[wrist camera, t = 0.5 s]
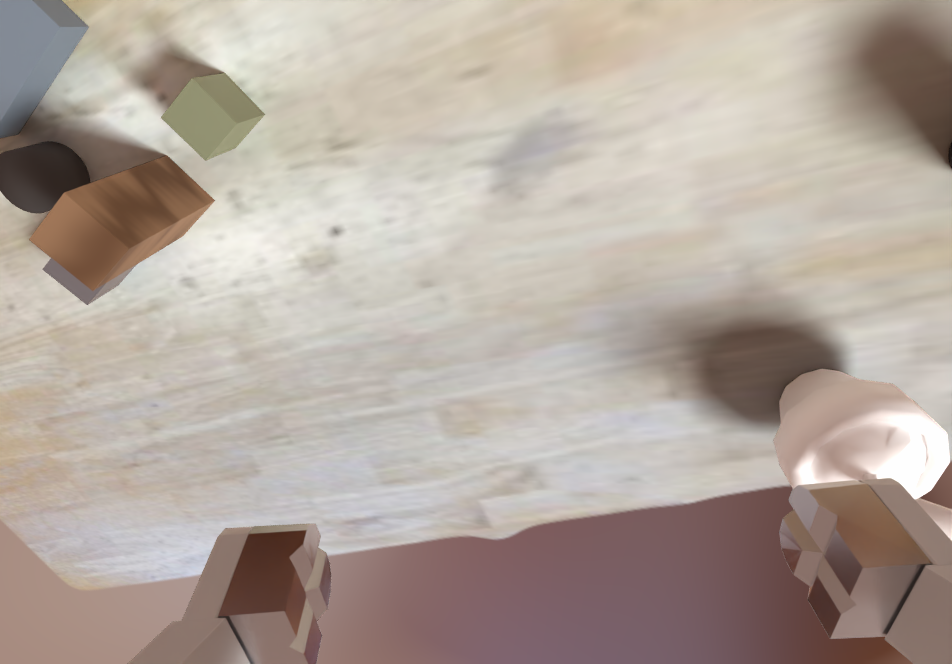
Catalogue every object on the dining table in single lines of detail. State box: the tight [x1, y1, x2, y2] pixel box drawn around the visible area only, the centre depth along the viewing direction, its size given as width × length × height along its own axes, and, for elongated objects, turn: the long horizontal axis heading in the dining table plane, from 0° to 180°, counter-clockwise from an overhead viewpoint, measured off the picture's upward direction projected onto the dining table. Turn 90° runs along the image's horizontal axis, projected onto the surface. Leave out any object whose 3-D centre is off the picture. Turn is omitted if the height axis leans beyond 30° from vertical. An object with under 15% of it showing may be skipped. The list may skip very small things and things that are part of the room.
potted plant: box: [773, 369, 952, 541], centre depth 42 cm, size 13×12×25 cm
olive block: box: [161, 73, 265, 161], centre depth 43 cm, size 4×4×5 cm
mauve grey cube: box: [43, 258, 137, 305], centre depth 50 cm, size 4×4×4 cm
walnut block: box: [29, 156, 215, 291], centre depth 44 cm, size 5×5×12 cm
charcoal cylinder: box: [0, 142, 90, 213], centre depth 47 cm, size 5×5×4 cm
